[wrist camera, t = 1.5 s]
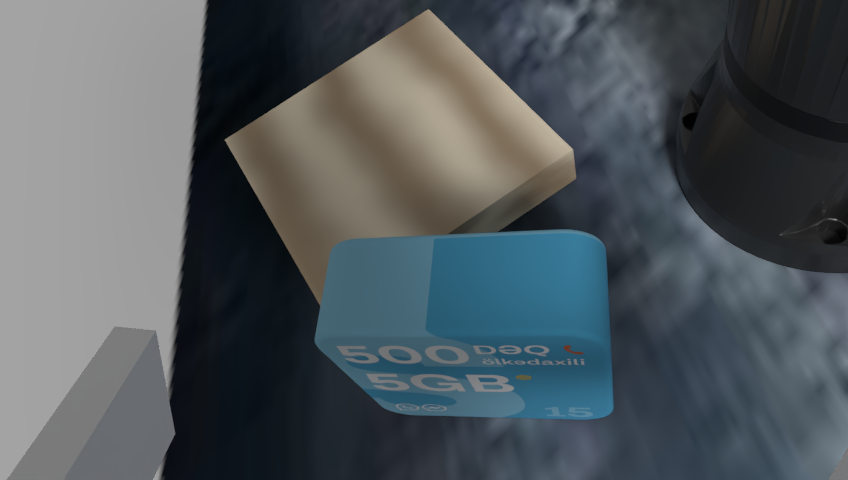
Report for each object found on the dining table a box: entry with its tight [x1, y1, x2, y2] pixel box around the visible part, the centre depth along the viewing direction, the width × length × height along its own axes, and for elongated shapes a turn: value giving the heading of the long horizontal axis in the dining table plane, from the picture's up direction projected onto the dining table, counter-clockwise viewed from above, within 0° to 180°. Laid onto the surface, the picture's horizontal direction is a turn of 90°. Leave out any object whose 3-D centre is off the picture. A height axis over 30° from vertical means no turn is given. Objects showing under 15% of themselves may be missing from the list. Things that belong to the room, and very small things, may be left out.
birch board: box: [225, 9, 576, 306], centre depth 44 cm, size 17×16×3 cm
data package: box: [315, 229, 614, 420], centre depth 32 cm, size 12×4×12 cm, turn 84°
